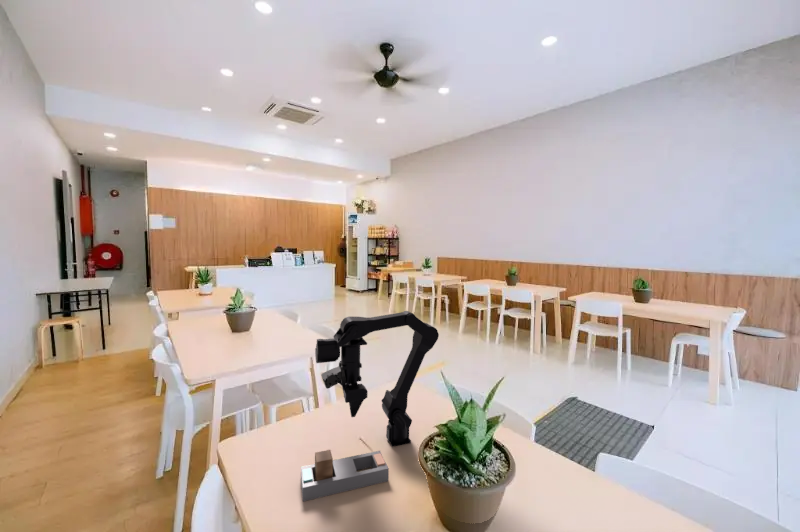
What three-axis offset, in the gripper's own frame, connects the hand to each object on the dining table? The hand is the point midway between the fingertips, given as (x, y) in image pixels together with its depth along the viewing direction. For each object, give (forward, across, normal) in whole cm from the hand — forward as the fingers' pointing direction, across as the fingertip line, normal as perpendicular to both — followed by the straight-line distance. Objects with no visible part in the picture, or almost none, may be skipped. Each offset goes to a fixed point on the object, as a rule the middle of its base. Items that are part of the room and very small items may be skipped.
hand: (350, 409), depth 101 cm
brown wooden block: (+13, +13, -10) cm, 20 cm away
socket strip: (+12, +13, -4) cm, 18 cm away
